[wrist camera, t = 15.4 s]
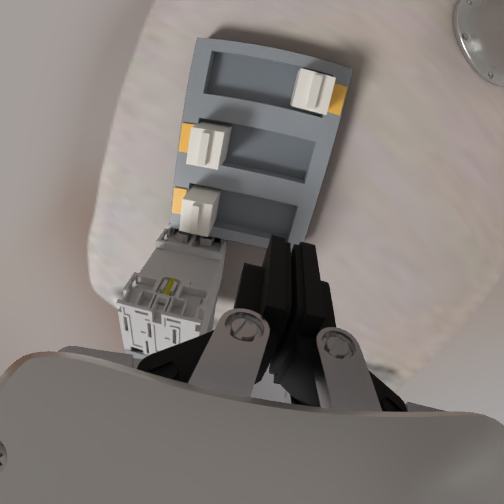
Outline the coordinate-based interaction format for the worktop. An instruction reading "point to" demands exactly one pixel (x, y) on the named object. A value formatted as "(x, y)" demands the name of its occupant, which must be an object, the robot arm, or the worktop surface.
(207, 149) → the tab
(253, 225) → the switch bank
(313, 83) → the tab
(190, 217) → the tab
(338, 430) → the robot arm
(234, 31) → the worktop surface
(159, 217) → the worktop surface
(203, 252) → the circuit breaker
